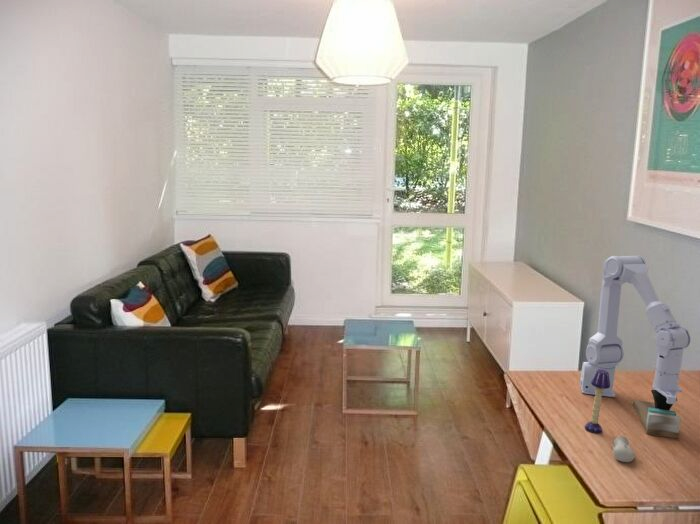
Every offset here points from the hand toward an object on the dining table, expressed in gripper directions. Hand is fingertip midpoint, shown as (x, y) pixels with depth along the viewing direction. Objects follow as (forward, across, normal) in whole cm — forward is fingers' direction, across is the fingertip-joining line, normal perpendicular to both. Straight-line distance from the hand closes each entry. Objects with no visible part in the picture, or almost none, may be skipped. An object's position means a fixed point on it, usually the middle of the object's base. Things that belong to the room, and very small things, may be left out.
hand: (660, 417), depth 159 cm
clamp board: (+3, +4, 0) cm, 5 cm away
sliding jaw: (+1, -2, +1) cm, 3 cm away
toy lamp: (+3, -8, +18) cm, 19 cm away
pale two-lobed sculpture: (+3, -20, +12) cm, 24 cm away
